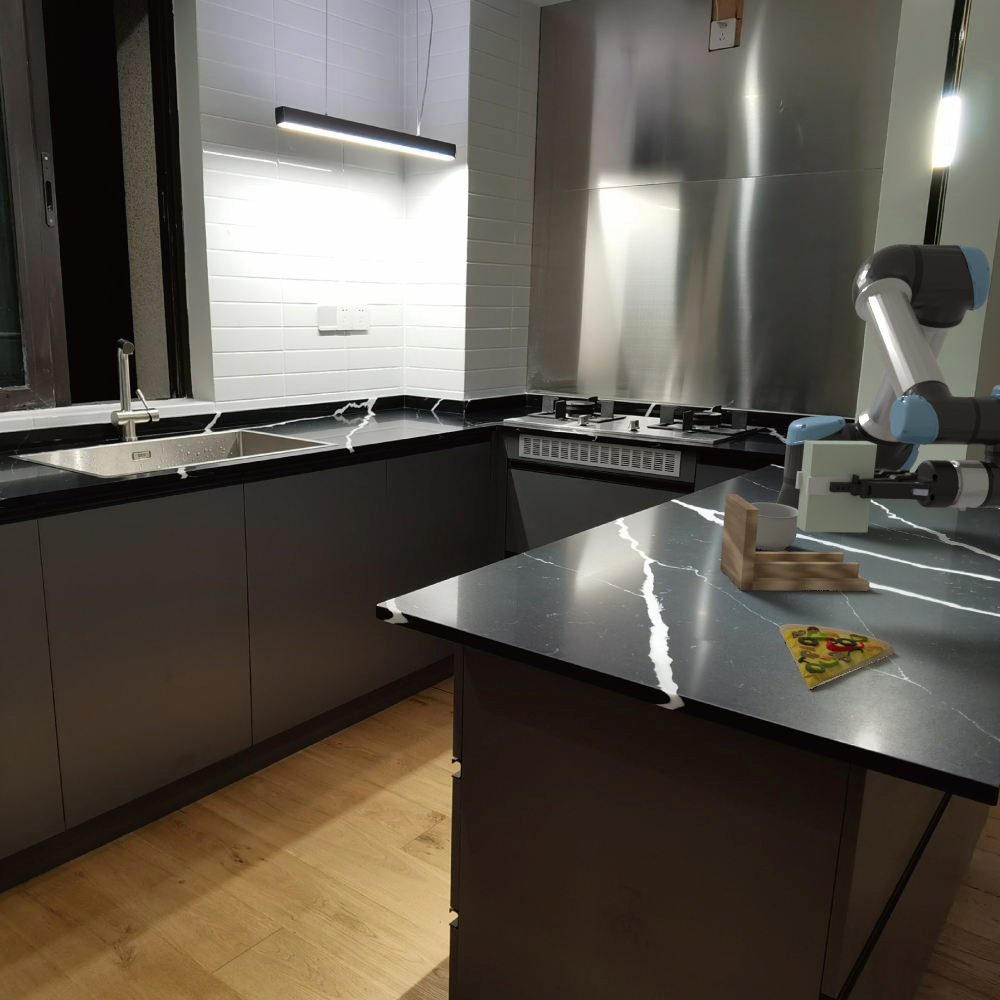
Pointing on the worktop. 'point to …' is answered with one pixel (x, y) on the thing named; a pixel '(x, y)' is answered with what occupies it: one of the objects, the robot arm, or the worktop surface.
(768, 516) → the teacup
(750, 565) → the track
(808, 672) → the pizza slice
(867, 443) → the pale green block
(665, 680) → the worktop surface
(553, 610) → the worktop surface
